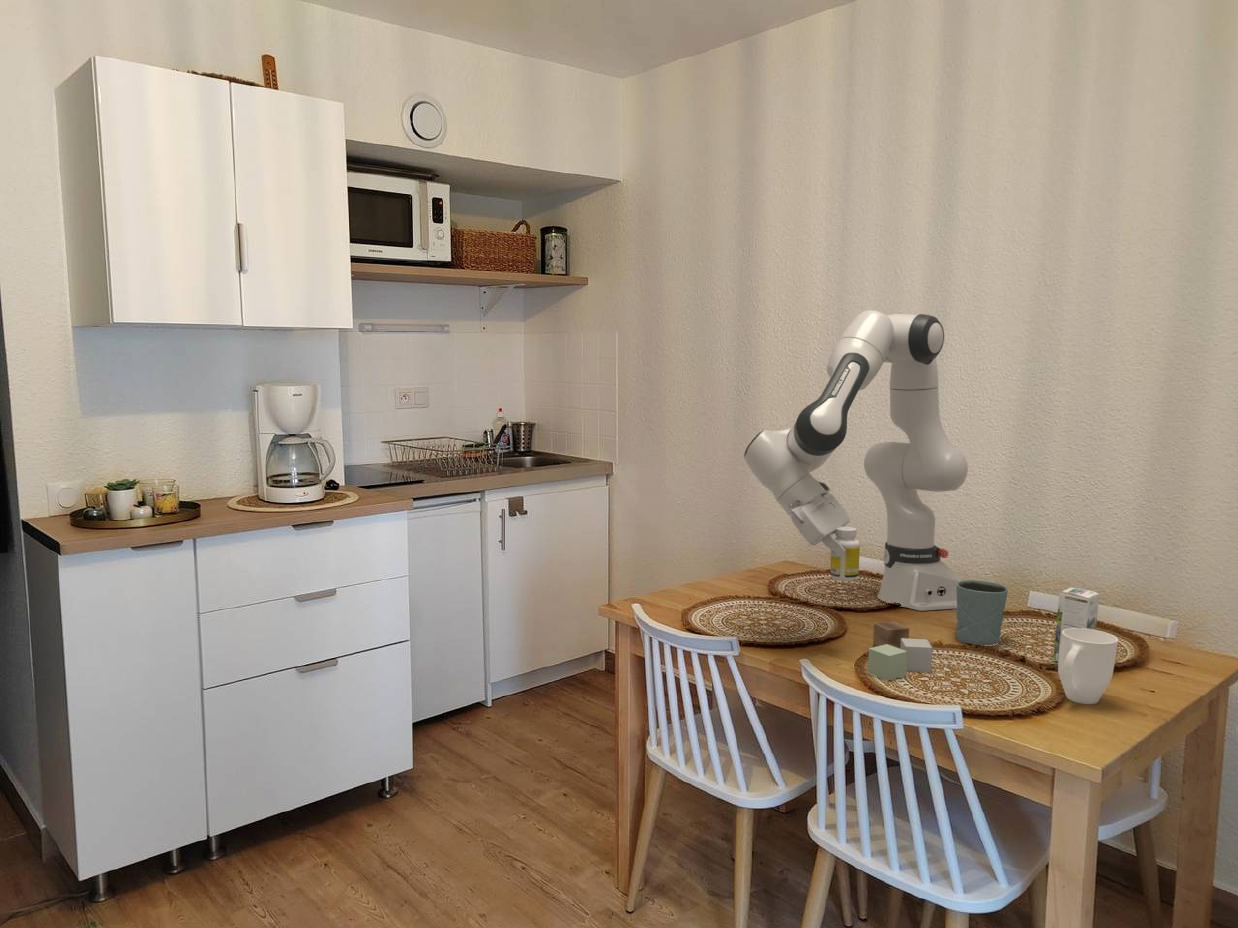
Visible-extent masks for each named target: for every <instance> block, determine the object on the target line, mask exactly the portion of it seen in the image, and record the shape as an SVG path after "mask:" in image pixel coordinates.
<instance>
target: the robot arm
mask: <svg viewBox="0 0 1238 928" xmlns="http://www.w3.org/2000/svg"><path fill="white" fill-rule="evenodd" d="M944 343H945V330H944V326H943V325H942V323H941V322H940V321H939V319H938V318H937V317H936V316H933V315H929V314H924V313H921V314H920V313H919V314H911V313H910V314H909V313H893V314H887V315H886V314H885V313H883V312H881V311H880V310H879V311H878V310H874V309H871V310H869V309H868V310H865V311H862V312H860V313H859V314H857V315H856V317H854V318H853V320H852V321H850V323H849V324H848V325H847V326H846V328H845V329H844V331H843V332H842V334H841V335H840V336H839V338H838V339H837V341H836V342H835V345H834V346H833V349H832V351H831V353H830V356H829V358H828V362H827V365H826V373H827V375H828V377H829V378H830V379H829V380H828V382H827V384H826V385H825V388H824V389H823V390H822V393H821V395H820V396H819V397H818V398H817V399H815V401H813V402H812V403H810V404H807V406H806V407H804V408H803V409H802V410H801V412H800V413H799V414H798V416H797V419H796V421H795V423H794V425H793V426H792V427H790V428H786V429H782V430H768V429H763V430H761V431H760V432H757V434H756V435H755V436H754V437H753V438H752V439H751V441H750V443H749V444H748V445H747V447H746V449H745V450H744V454H743V456H744V460H745V463H746V465H747V467H748V468H749V469H750V471H751V472H752V473H753V475H754V476H755V477H756V478H757V480H758V481H759V482H760V483H761V485H763V487H765V488H766V489H768V490H769V491H770V492H771V494H772V495H773V497H774V499H775V500H776V502H777V503H778V504H779V505H780V507H781V508H782V509H783V510H784V511H785V513H786V514H787V515H788V516H789V517H790V518H791V521H792V523H793V525H794V526H795V528H796V529H797V530H798V531H799V533H800V534H801V536H802V537H803V538H804V539H805V541H806V542H807V543H809V544H810V545H812V546H817V545H818V544H819V543H821V542H822V543H823V544H824V545H825V546H826V547H827V548H829V549H830V551H831V550H833V551H834V552H835V553H836V554H837V555H838V556H839V557H841V556H842V555H843V554H845V553H846V552H847V549H846V548H845V547H844V546H843V545H842V544H840V543H839V542H838V541H837V540H836V539H835V538H836V537H835V536H834V535H835V531H836V529H837V528H839V527H846V526H847V525H848V524H849V523H850V522H851V518H850V516H849V514H848V512H847V511H846V510H845V509H844V507H843V506H842V505H841V504H840V502H839V501H838V500H837V499H836V497H835V496H834V495H833V494H831V493H830V492H831V489H830V486H828V485H827V483H825V482H821V481H818V480H817V479H816V478H814V476H813V475H812V474H811V473H810V472H813V471H815V470H817V469H819V468H820V467H822V466H823V465H824V464H825V463H826V462H827V460H828V459H829V457H830V456H831V455H832V454H833V452H835V450H836V449H837V448H838V447H839V446H841V444H842V443H843V441H845V438H846V435H847V429H848V413H849V410H850V408H851V406H852V405H853V402H854V400H855V398H856V397H857V395H858V393H859V391H862V390H865V389H866V388H867V387H868V386H869V384H870V383H872V381H873V380H874V379H875V377H876V376H877V375H878V373H879V371H880V370H881V368H882V366H883V364H884V363H889V364H891V367H890V376H889V377H890V379H889V409H890V410H889V414H890V415H889V416H890V420H891V421H892V423H893V424H894V425H895V426H896V427H898V428H899V429H900V430H902V431H903V433H904V434H905V435H906V437H907V438H908V440H909V442H908V443H907V442H898V441H897V442H896V441H888V442H879V443H875V444H873V445H871V446H870V447H869V449H868V450H867V451H866V453H865V456H864V459H863V468H864V471H865V475H867V477H868V479H869V480H870V481H871V482H873V484H874V485H875V487H877V489H878V491H879V493H880V494H881V497H882V498H883V503H884V505H885V508H886V518H887V519H886V520H887V526H886V527H887V533H886V534H887V535H886V542H885V543H884V551H883V562H884V563H883V565H884V569H883V576H882V580H881V583H880V584H881V585H880V589H879V591H878V594H877V596H878V597H879V598H880V599H882V600H885V601H889V602H896V603H900V604H901V606H900V607H902V608H908V609H912V610H916V611H922V612H924V611H938V610H952V609H957V588H956V584H957V583H958V582H960V581H963V579H962V578H961V577H960V575H958V574H957V573H956V572H954V570H953V569H951V568H950V567H949V566H948V565H946V564H945V563H944V562H943V561H941V558H943V559H947V558H948V557H949V554H950V552H949V551H948V550H947V549H945V548H940V547H938V546H937V545H935V531H936V516H935V513H934V511H933V510H932V509H931V508H930V507H929V506H928V505H926V504H925V503H923V501H922V500H921V499H920V497H919V495H918V492H917V490H918V491H927V492H933V493H934V492H935V493H937V492H939V493H940V492H951V491H957V490H958V489H959V488H960V487H962V485H964V484H965V481H966V479H967V476H968V467H969V466H968V462H967V459H966V458H965V455H963V453H962V452H961V451H959V450H958V449H957V448H956V446H954V445H953V443H952V442H951V441H950V439H949V438H948V437H947V434H946V433H945V430H944V427H943V426H942V422H941V416H940V408H939V406H940V404H939V403H940V402H939V374H938V373H939V372H938V371H939V370H938V364H937V358H938V355H939V354H940V352H941V351H942V349H943V346H944ZM878 597H877V598H878Z"/></svg>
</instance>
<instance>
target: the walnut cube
mask: <svg viewBox="0 0 1238 928" xmlns="http://www.w3.org/2000/svg"><path fill="white" fill-rule="evenodd" d="M873 626H874V627H873V643H872V644H873V645H872V646H873V647H877V646H881V645H885V644H888V645H891V646H894V647H896V648H899V649H900V646H901V638H906V639H910V628H909V627H907V626H905V625H903V624H901V623H899V622H897V621H895V620H894V621H887V622H886V621H885V622H875V623H873Z"/></svg>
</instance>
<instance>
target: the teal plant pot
mask: <svg viewBox="0 0 1238 928" xmlns="http://www.w3.org/2000/svg"><path fill="white" fill-rule="evenodd" d="M956 588H957V608H956V620H957V622H956V632H955V634H956V639H957V641H958V642H960V643H963V644H965V643H974V644H979V645H993V644H997V643H999V644H1000V640H1001V633H1002V632H1001V630H1002V629H1001V627H1002V625H1003V619H1004V616H1005V614H1003V613H1004V611H1005V608H1006V603H1007V597H1008V593H1009V590H1008V588H1007V586H1004V585H1002V584H999V583H995V582H990V581H984V580H974V579H973V580H969V579H968V580H962V581H960V582H958V583H957V584H956Z"/></svg>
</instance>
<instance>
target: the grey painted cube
mask: <svg viewBox="0 0 1238 928" xmlns="http://www.w3.org/2000/svg"><path fill="white" fill-rule="evenodd" d="M900 649H902V650H905V651H908V652H907V672H913V671H914V672H919V673H932V664H933V662H932V660H933V646H932V645H931V644H930V642H929V640H928V639H925V638H923V639H922V638H920V639H919V638H909V639H906V638H901V646H900Z"/></svg>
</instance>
